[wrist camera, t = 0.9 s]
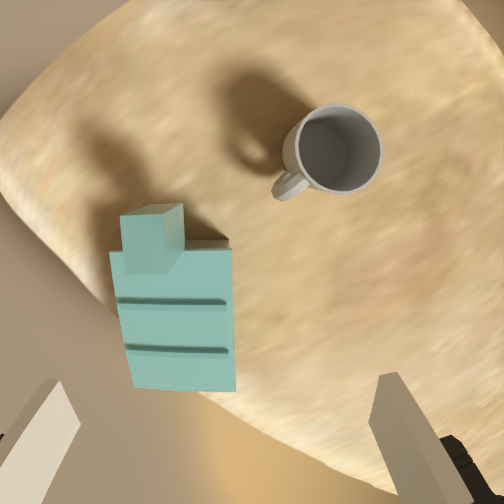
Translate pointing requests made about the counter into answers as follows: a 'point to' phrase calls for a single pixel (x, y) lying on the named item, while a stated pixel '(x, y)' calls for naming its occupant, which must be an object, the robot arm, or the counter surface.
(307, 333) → the counter surface
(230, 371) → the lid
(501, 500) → the robot arm
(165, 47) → the counter surface
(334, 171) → the cup
